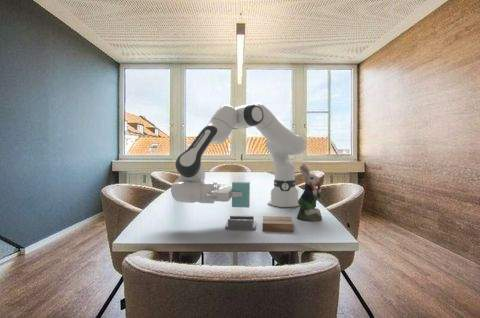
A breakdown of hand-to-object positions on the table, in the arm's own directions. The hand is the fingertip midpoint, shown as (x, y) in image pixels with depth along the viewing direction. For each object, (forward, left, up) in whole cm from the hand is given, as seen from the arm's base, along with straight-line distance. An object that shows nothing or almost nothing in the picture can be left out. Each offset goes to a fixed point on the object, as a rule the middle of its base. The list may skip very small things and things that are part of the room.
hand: (243, 193), depth 130 cm
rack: (0, -1, -14) cm, 14 cm away
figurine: (-17, +29, -14) cm, 37 cm away
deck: (0, +14, -14) cm, 20 cm away
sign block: (0, -1, -5) cm, 6 cm away
